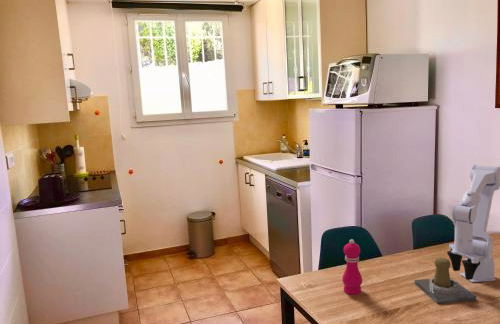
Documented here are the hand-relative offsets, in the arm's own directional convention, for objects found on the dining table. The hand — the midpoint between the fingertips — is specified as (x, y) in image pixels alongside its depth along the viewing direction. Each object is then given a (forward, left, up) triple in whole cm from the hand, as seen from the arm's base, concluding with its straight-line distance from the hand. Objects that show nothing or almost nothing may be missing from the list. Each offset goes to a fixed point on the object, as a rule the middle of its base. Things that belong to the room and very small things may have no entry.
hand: (462, 274), depth 145 cm
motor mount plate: (+7, 0, -6) cm, 9 cm away
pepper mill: (+39, -6, -6) cm, 40 cm away
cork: (+8, 0, -5) cm, 9 cm away
